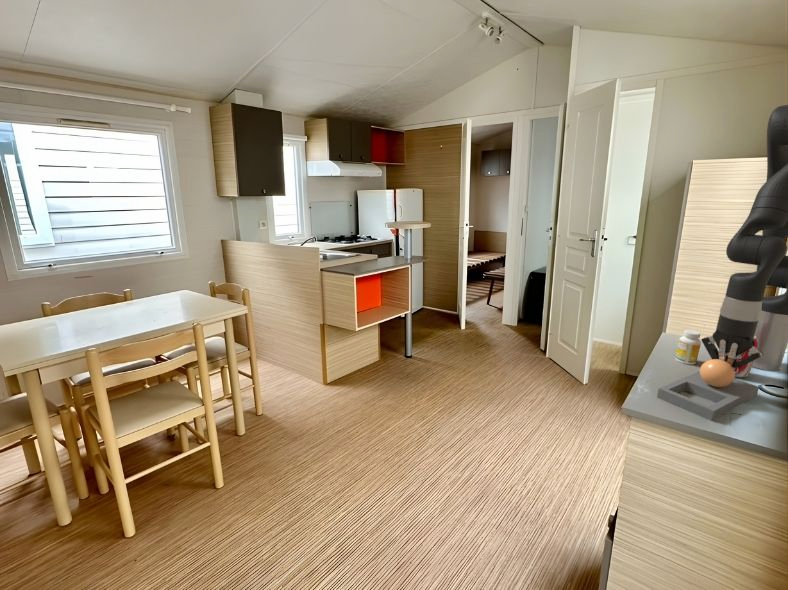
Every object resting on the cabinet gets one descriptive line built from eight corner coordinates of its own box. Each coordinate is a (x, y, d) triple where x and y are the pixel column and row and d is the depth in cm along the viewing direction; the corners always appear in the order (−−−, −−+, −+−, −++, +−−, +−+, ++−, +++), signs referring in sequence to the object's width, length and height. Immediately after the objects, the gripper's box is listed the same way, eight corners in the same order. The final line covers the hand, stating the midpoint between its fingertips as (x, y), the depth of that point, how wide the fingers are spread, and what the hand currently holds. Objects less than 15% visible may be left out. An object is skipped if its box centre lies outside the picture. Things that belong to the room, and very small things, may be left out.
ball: (705, 376, 108) (710, 352, 107) (736, 387, 103) (743, 362, 101) (691, 383, 105) (697, 358, 103) (723, 395, 99) (730, 369, 97)
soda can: (754, 380, 113) (766, 340, 109) (725, 377, 114) (736, 337, 111) (739, 369, 119) (749, 331, 116) (712, 367, 121) (721, 329, 117)
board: (703, 376, 114) (705, 368, 114) (756, 395, 104) (759, 387, 104) (656, 397, 103) (658, 388, 102) (711, 420, 93) (713, 411, 92)
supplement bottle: (675, 362, 123) (681, 332, 121) (674, 356, 128) (680, 327, 125) (696, 366, 121) (703, 336, 118) (695, 360, 125) (702, 331, 122)
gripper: (779, 320, 97) (761, 385, 102) (715, 306, 108) (701, 365, 113) (766, 325, 94) (748, 392, 99) (701, 310, 105) (688, 371, 110)
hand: (723, 377), depth 106 cm, fingers closed
